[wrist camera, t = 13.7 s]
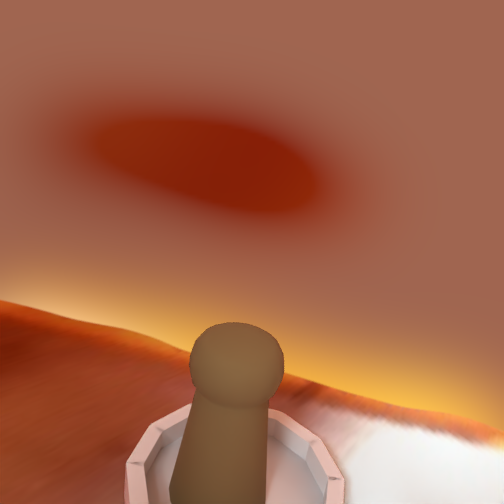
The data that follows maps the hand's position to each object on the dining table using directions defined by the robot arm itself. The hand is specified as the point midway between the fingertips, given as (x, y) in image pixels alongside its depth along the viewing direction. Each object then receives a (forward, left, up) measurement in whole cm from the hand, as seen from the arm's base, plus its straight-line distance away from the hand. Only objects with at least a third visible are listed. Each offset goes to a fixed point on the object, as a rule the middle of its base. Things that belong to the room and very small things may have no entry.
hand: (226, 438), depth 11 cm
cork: (-9, +11, -17) cm, 22 cm away
